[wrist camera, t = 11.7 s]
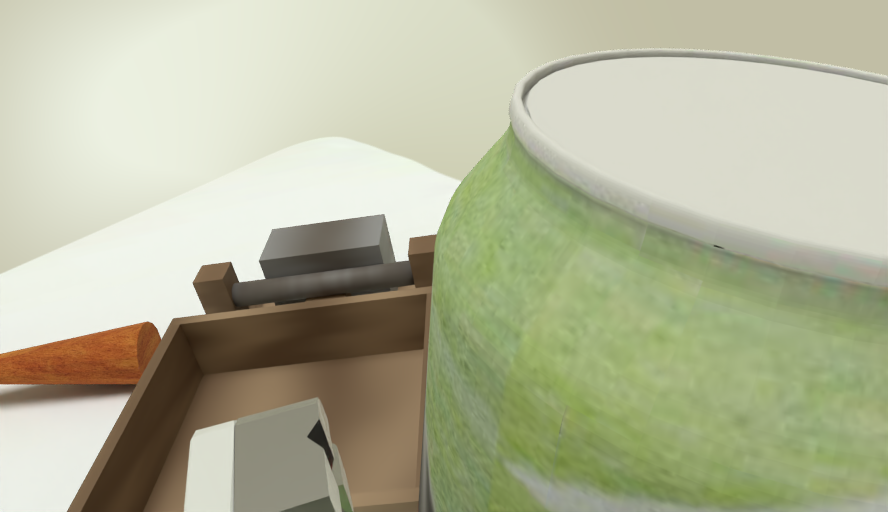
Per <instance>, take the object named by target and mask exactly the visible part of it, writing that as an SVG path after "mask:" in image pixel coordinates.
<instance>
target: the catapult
mask: <svg viewBox="0 0 888 512" xmlns="http://www.w3.org/2000/svg"><path fill="white" fill-rule="evenodd" d="M436 236H437V235H429V236H422V237H414V238H410V241H409V251H408V257H409V261H402V262H396V261H395V257H394V253H393V249H392V244H391V240H390V236H389V232H388V228H387V224H386V219H385V215H384V214H382V215H374V216H367V217H360V218H352V219H345V220H338V221H330V222H323V223H316V224H309V225H301V226H294V227H287V228H279V229H272V232H271V234H270V236H269V239H268V241H267V243H266V246H265V248H264V250H263V253H262V255H261V257H260V260H259V262H260V265H261V268H262V270H263V273H264V276H265V279H263V280H255V281H248V282H240V283H239V281H238V278H237V276H236V273H235V271H234V268H233V266H232V263H231V262H226V263H219V264H211V265H203V266H202V267H201V269H200V270H199V272H198V274H197V276H196V278H195V280H194V281H193V285H194V288H195V290H196V292H197V294H198V297H199V299H200V301H201V304H202V306H203V308H204V310H205V313H206V315H198V316H190V317H182V318H174V319H173V320H172V321H171V323H170V325H169V327H168V329H167V330H166V332H165V334H164V336H163V338H162V340H161V341H160V343H159V345H158V347H157V349H156V350H155V352H154V354H153V356H152V358H151V360H150V361H149V363H148V365H147V367H146V369H145V370H144V372H143V374H142V376H141V378H140V380H139V381H138V383H137V385H136V387H135V389H134V391H133V392H132V394H131V396H130V398H129V400H128V401H127V403H126V405H125V407H124V409H123V411H122V412H121V414H120V416H119V418H118V420H117V421H116V423H115V425H114V427H113V429H112V431H111V432H110V434H109V436H108V438H107V440H106V441H105V443H104V445H103V447H102V449H101V451H100V452H99V454H98V456H97V458H96V460H95V461H94V463H93V465H92V467H91V469H90V471H89V472H88V474H87V476H86V478H85V480H84V481H83V483H82V485H81V487H80V489H79V491H78V492H77V494H76V496H75V498H74V500H73V501H72V503H71V505H70V507H69V509H68V511H67V512H184V503H185V492H186V482H187V471H188V460H189V449H190V441H191V439H192V437H193V435H194V433H195V431H196V430H200V429H203V428H207V427H211V426H214V425H218V424H222V423H226V422H229V421H233V420H237V419H238V418H241V417H245V416H249V415H253V414H256V413H260V412H264V411H268V410H271V409H275V408H279V407H283V406H286V405H290V404H294V403H298V402H301V401H305V400H309V399H313V398H316V397H318V398H319V399H320V401H321V403H322V406H323V408H324V411H325V414H326V416H327V419H328V424H329V430H330V436H331V442H332V443H333V444H335V445H337V448H338V451H339V454H340V457H341V460H342V463H343V467H344V470H345V474H346V477H347V482H348V486H349V490H350V495H351V499H352V505H353V510H354V512H418V502H419V486H420V470H421V454H422V439H423V423H424V407H425V391H426V376H427V360H428V344H429V328H430V313H431V297H432V281H433V265H434V250H435V241H436Z"/></svg>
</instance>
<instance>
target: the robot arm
mask: <svg viewBox="0 0 888 512" xmlns="http://www.w3.org/2000/svg"><path fill="white" fill-rule="evenodd" d="M184 512H354V510H353V505H352V499H351V495H350V490H349V486H348V482H347V477H346V474H345V470H344V467H343V463H342V460H341V457H340V454H339V451H338V448H337V445H335V444H333V443H332V442H331V436H330V430H329V424H328V419H327V416H326V414H325V411H324V408H323V406H322V403H321V401H320V399H319V398H318V397H316V398H313V399H309V400H305V401H301V402H298V403H294V404H290V405H286V406H283V407H279V408H275V409H271V410H268V411H264V412H260V413H256V414H253V415H249V416H245V417H241V418H238V419H237V420H233V421H229V422H226V423H222V424H218V425H214V426H211V427H207V428H203V429H200V430H196V431H195V433H194V435H193V437H192V439H191V441H190V449H189V460H188V471H187V482H186V492H185V503H184Z"/></svg>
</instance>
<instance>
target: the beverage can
mask: <svg viewBox="0 0 888 512" xmlns="http://www.w3.org/2000/svg"><path fill="white" fill-rule="evenodd" d="M509 116H510V120H511V122H510V126H509V128H508V130H507V131H506V132H505V133H504V135H503V136H502V137H501V138H500V139H499V140H498V141H497V142H496V143H495V144H494V145H493V147H492V148H491V149H490V150H489V151H488V152H487V153H486V155H485V156H484V157H483V158H482V159H481V160H480V161H479V162H478V163H477V165H476V166H475V167H474V168H473V169H472V170H471V172H470V173H469V174H468V175H467V176H466V177H465V178H464V180H463V181H462V182H461V184H460V185H459V187H458V188H457V189H456V191H455V193H454V195H453V196H452V198H451V200H450V203H449V205H448V207H447V210H446V212H445V215H444V217H443V220H442V222H441V225H440V227H439V230H438V233H437V236H436V241H435V250H434V265H433V281H432V297H431V313H430V328H429V344H428V360H427V376H426V391H425V407H424V423H423V439H422V454H421V470H420V486H419V502H418V512H888V76H886V75H881V74H876V73H871V72H866V71H861V70H856V69H851V68H846V67H840V66H834V65H829V64H823V63H817V62H811V61H804V60H797V59H790V58H782V57H775V56H768V55H758V54H748V53H739V52H729V51H713V50H698V49H663V48H654V49H653V48H652V49H623V50H611V51H599V52H592V53H586V54H580V55H574V56H568V57H565V58H562V59H558V60H555V61H552V62H548V63H546V64H543V65H541V66H540V67H537V68H536V69H533V70H531V71H529V72H528V73H527V74H526V75H525V76H524V77H523V78H522V79H521V80H520V81H519V82H518V83H517V84H516V86H515V89H514V92H513V95H512V98H511V101H510V106H509Z"/></svg>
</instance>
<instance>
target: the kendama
mask: <svg viewBox="0 0 888 512" xmlns="http://www.w3.org/2000/svg"><path fill="white" fill-rule="evenodd" d="M160 341H161V338H160V335H159V332H158V330H157V328H156V327H155V326H154V324H153V323H150V322H144V323H139V324H135V325H130V326H126V327H121V328H116V329H112V330H107V331H103V332H98V333H94V334H89V335H85V336H80V337H76V338H71V339H67V340H62V341H57V342H53V343H48V344H44V345H39V346H35V347H30V348H26V349H21V350H17V351H12V352H8V353H3V354H0V384H137V383H138V381H139V380H140V378H141V376H142V374H143V372H144V370H145V369H146V367H147V365H148V363H149V361H150V360H151V358H152V356H153V354H154V352H155V350H156V349H157V347H158V345H159V343H160Z"/></svg>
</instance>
